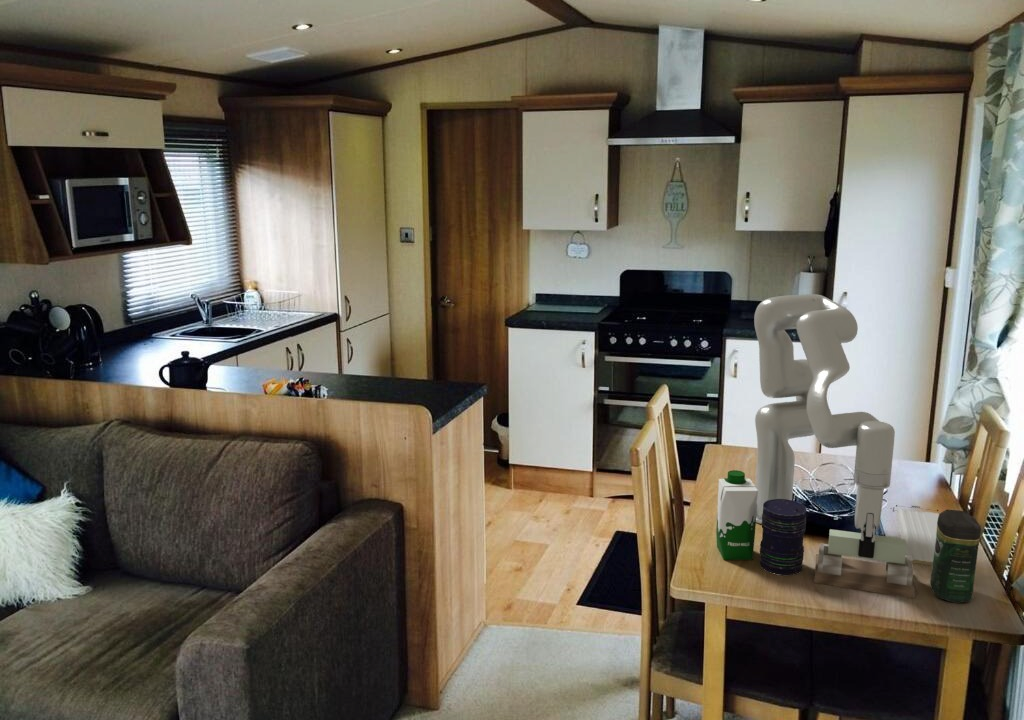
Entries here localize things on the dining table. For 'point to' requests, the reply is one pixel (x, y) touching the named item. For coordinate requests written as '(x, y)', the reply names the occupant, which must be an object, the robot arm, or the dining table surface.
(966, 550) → the coffee jar
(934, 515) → the baseboard molding
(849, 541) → the pale green long block
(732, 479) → the milk carton
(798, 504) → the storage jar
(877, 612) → the dining table surface
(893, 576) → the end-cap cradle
